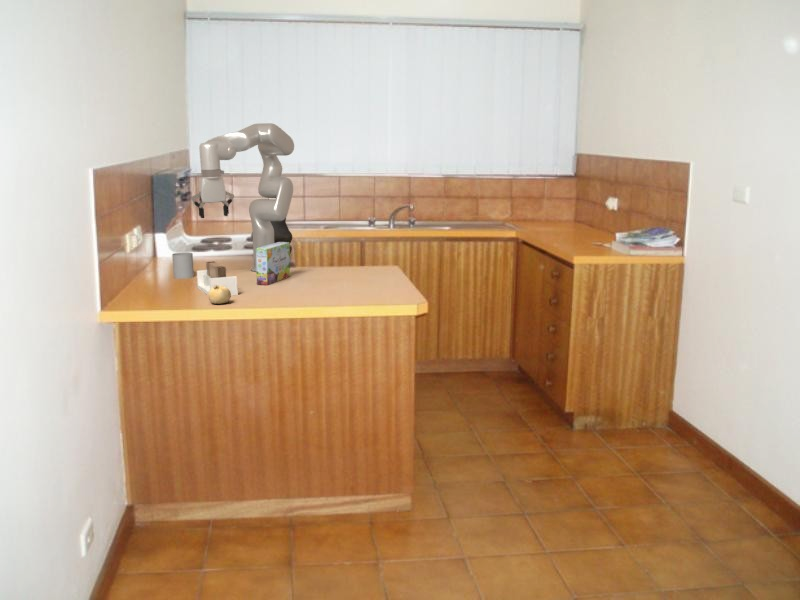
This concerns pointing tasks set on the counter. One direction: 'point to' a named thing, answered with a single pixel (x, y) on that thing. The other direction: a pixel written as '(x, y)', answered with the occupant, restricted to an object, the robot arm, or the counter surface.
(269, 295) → the counter surface
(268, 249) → the snack box
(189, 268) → the cup
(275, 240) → the pitcher
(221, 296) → the onion
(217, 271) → the tan bar
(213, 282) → the white bracket frame
